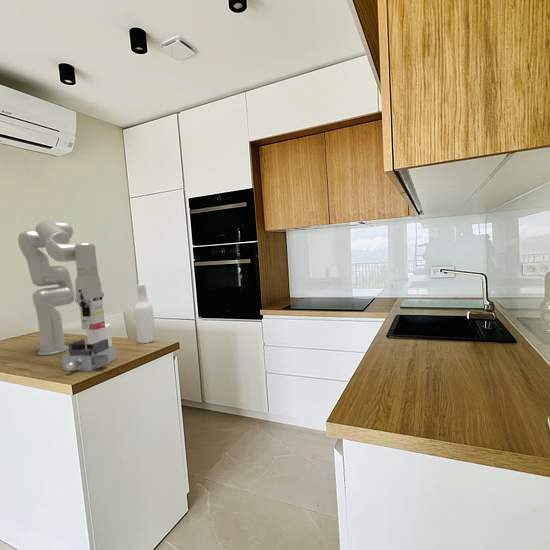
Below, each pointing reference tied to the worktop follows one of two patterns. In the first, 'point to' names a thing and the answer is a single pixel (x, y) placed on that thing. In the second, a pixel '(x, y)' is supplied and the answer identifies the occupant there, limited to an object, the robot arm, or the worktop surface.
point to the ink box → (93, 316)
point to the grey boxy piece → (88, 355)
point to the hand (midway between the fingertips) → (92, 314)
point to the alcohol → (144, 317)
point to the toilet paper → (99, 335)
